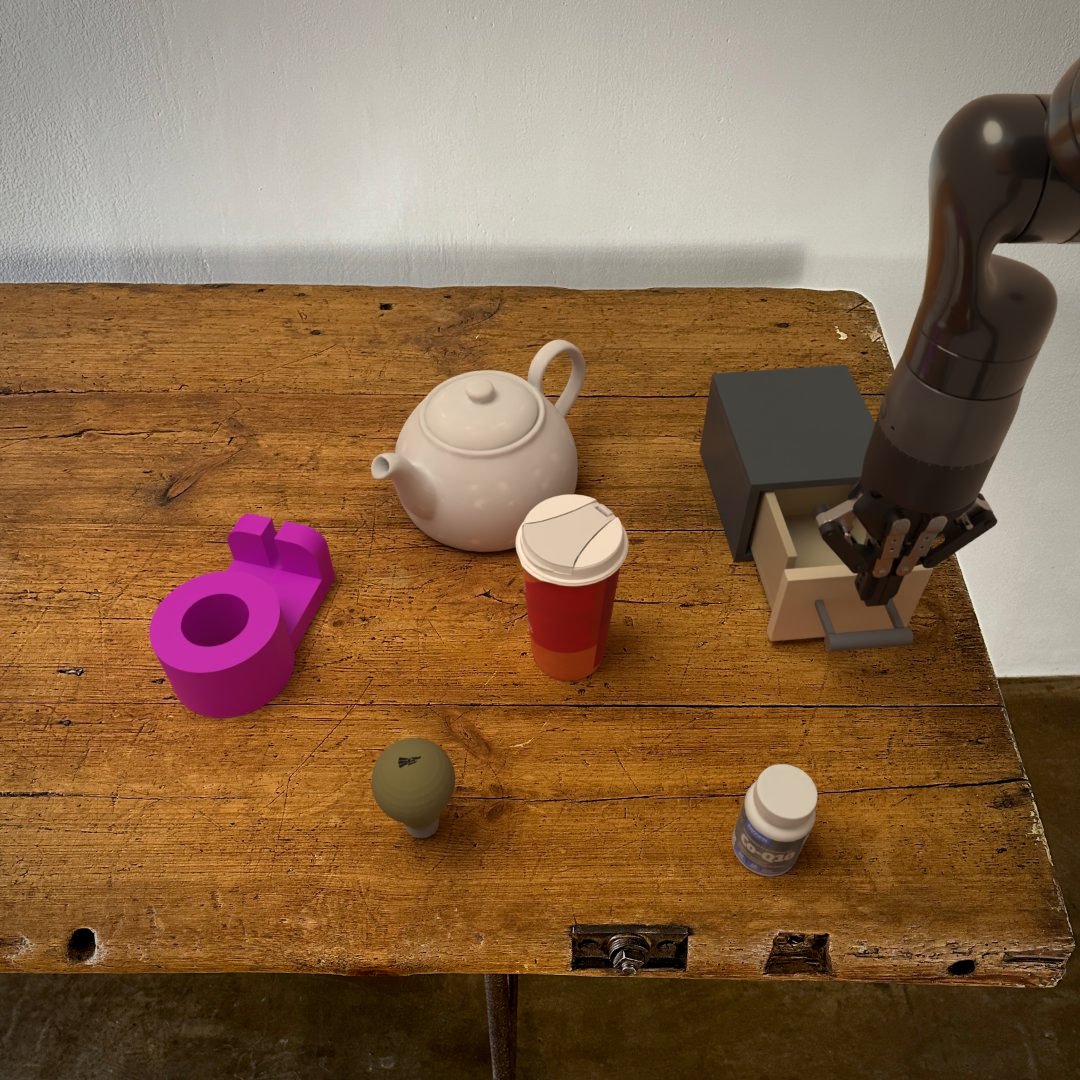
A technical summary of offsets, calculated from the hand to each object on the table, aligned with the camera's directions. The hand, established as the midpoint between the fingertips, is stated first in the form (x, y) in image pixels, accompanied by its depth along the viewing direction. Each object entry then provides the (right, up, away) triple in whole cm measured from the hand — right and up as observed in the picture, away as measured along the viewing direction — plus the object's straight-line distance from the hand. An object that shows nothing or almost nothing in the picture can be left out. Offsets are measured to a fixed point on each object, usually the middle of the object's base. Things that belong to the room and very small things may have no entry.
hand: (872, 597), depth 73 cm
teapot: (-30, +9, +20) cm, 37 cm away
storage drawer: (-1, 0, +10) cm, 10 cm away
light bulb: (-34, -17, -3) cm, 38 cm away
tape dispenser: (-50, -4, +9) cm, 50 cm away
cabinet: (-2, +8, +19) cm, 21 cm away
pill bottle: (-9, -18, -4) cm, 20 cm away
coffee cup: (-23, -5, +8) cm, 25 cm away
